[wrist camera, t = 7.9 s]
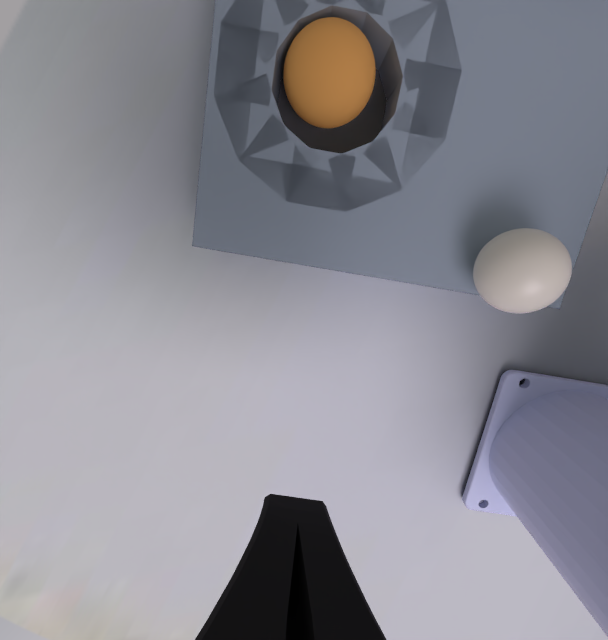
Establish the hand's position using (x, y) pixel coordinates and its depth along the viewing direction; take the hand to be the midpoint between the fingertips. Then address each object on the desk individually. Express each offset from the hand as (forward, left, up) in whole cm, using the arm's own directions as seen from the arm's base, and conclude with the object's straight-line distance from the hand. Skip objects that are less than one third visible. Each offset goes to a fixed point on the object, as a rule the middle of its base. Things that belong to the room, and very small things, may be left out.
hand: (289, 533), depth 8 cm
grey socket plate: (-3, -12, -10) cm, 16 cm away
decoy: (-7, -7, -6) cm, 11 cm away
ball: (+1, -12, -8) cm, 15 cm away
